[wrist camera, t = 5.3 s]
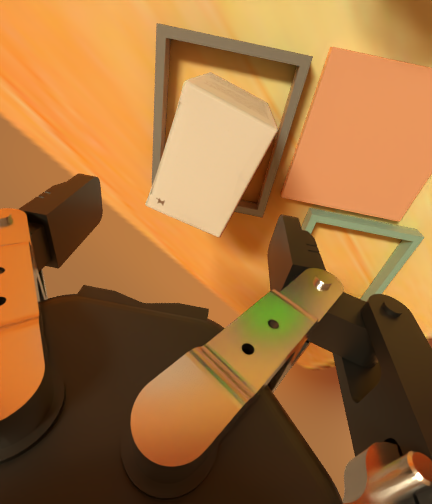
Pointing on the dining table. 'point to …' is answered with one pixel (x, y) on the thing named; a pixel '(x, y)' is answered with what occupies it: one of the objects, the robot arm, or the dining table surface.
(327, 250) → the dining table surface
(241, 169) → the small box
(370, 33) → the dining table surface
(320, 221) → the green rectangular frame
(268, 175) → the grey rectangular frame
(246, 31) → the dining table surface
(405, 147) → the terracotta tile
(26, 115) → the dining table surface
